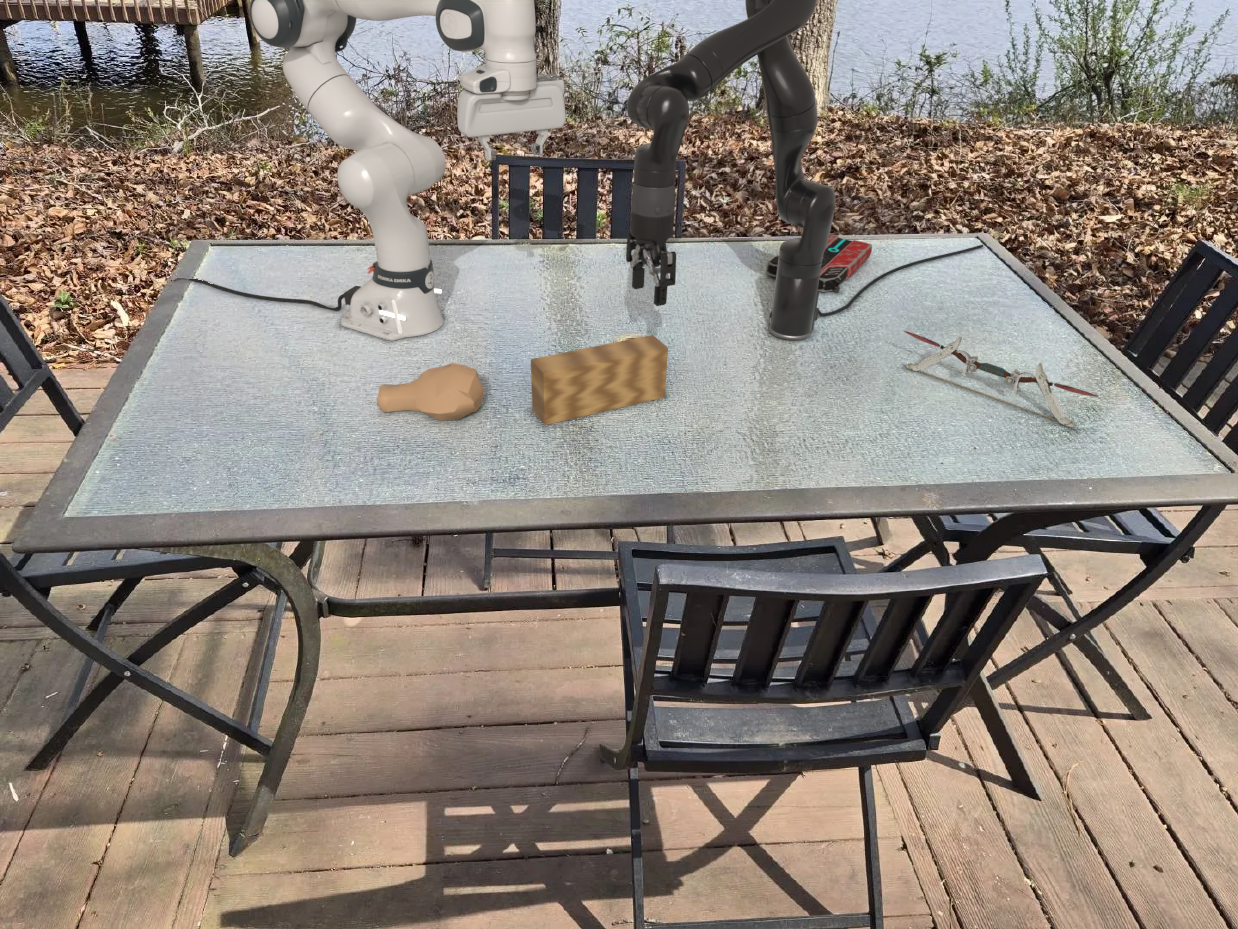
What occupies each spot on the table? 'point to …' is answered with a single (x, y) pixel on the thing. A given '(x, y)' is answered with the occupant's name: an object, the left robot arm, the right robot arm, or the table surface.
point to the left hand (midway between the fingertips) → (514, 156)
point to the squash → (436, 393)
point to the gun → (835, 262)
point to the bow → (1010, 379)
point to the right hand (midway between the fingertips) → (648, 296)
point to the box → (598, 379)
